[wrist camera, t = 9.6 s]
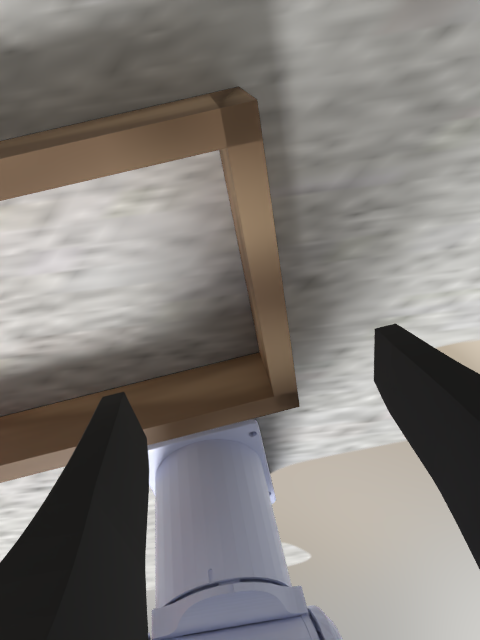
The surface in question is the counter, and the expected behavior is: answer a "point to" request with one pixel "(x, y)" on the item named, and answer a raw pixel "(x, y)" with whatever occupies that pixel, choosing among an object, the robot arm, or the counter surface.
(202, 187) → the counter surface
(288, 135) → the counter surface
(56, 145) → the brown wooden frame
